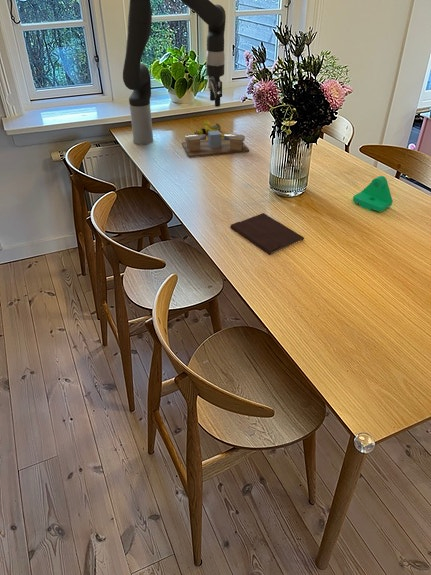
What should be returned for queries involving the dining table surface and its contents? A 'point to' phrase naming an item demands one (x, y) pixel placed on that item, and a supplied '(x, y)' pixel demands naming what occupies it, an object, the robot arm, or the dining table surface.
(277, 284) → the dining table surface
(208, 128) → the sprinkler
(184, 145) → the base board
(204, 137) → the shaft
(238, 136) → the shaft
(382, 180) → the green triangle
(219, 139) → the block
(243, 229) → the notebook
